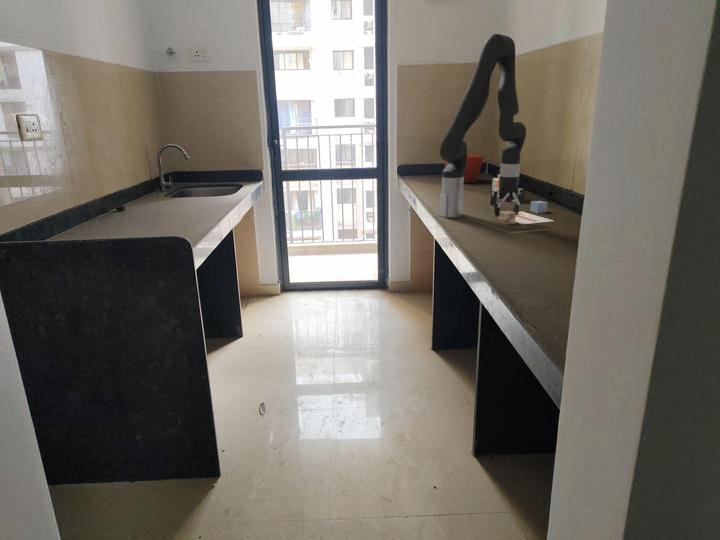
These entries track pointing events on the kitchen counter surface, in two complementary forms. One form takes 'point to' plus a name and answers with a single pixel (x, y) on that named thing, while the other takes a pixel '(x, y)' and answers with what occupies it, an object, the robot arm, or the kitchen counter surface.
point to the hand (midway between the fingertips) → (506, 215)
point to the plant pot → (472, 167)
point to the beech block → (507, 217)
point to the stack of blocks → (495, 184)
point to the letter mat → (529, 218)
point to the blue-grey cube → (538, 206)
